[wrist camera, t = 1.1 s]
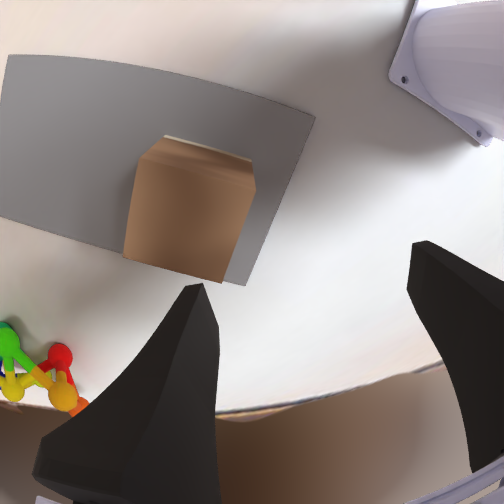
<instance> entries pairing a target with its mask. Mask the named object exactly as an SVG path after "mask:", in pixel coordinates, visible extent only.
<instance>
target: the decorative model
mask: <svg viewBox="0 0 504 504" xmlns="http://www.w3.org/2000/svg"><path fill="white" fill-rule="evenodd" d="M13 358H14V359H15V360H16V361H17V362H18V363H19V364H20V365H21V366H22V367H23V368H24V369H25V370H26V371H27V373H17V374H15V370H14V361H13ZM2 360H3V366H4V371H5V374H3V372H2V371H1V367H2ZM72 360H73V358H72V353H71V351H70V350H69V348H68V347H66V346H65V345H63V344H55V345H53V346H52V347H51V348H50V349H49V352H48V359H47V360H45V361H44V362H42V363H41V364H39V365H36V364H35V363H34V362H33V361H32V360H31V359H30V358H29V357H28V356H27V355H26V354H25V353H24V352H23V351H22V350H21V348H20V341H19V338H18V336H17V334H16V333H15V332H14V331H13V330H12V328H11V327H10V326H9V325H8V324H7V323H4V322H0V390H2V393H3V395H4V396H5V397H6V398H7V399H8V400H10V401H12V402H18V401H20V400H21V399H22V398H23V396H24V393H25V389H26V388H28V387H30V386H32V385H35V384H36V385H37V386H39V387H43V388H44V387H45V388H46V389H47V390H48V397H49V400H50V402H51V404H52V405H53V406H54V407H55V408H56V409H58V410H61V411H69V413H70V415H71V416H72V417H74V416H75V415H76V414H78V413H79V412H80V411H81V410H83V409H84V408H85V407H86V406H88V405H89V404H90V403H89V402H88V401H87V400H86V399H84V398H82V397H79V394H78V392H77V389H76V387H75V384H74V381H73V378H72V376H71V373H70V370H69V367H70V365H71V363H72ZM53 368H55V369H56V382H54V381H53V380H52V374H51V372H50V370H51V369H53Z"/></svg>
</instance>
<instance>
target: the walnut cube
mask: <svg viewBox="0 0 504 504" xmlns="http://www.w3.org/2000/svg"><path fill="white" fill-rule="evenodd" d="M255 193H256V186H255V179H254V173H253V167H252V160H251V159H249V158H246V157H243V156H239V155H236V154H233V153H230V152H226V151H223V150H219V149H216V148H212V147H209V146H205V145H202V144H198V143H195V142H191V141H187V140H183V139H180V138H176V137H172V136H168V135H165V136H164V137H162V138H161V139H160V140H159V141H158V142H157V143H155V144H154V145H153V146H152V147H151V148H150V149H149V150H148V151H146V152H145V153H144V154H143V155H142V156H141V157H140V158H139V162H138V167H137V171H136V176H135V182H134V187H133V192H132V198H131V204H130V210H129V216H128V222H127V229H126V236H125V243H124V251H123V257H124V258H127V259H131V260H134V261H138V262H142V263H145V264H149V265H153V266H156V267H160V268H164V269H167V270H171V271H175V272H178V273H182V274H186V275H190V276H194V277H198V278H201V279H205V280H209V281H213V282H217V283H221V284H222V282H223V279H224V276H225V273H226V271H227V268H228V265H229V262H230V260H231V257H232V254H233V252H234V249H235V246H236V243H237V241H238V238H239V235H240V233H241V230H242V227H243V225H244V222H245V219H246V216H247V214H248V211H249V208H250V206H251V203H252V200H253V198H254V195H255Z"/></svg>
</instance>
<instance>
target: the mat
mask: <svg viewBox="0 0 504 504" xmlns="http://www.w3.org/2000/svg"><path fill="white" fill-rule="evenodd" d="M314 120H315V117H313V116H311V115H308V114H306V113H303V112H301V111H298V110H295V109H293V108H290V107H287V106H285V105H282V104H279V103H276V102H273V101H271V100H268V99H265V98H262V97H259V96H256V95H253V94H250V93H246V92H243V91H240V90H237V89H233V88H230V87H227V86H223V85H220V84H216V83H212V82H209V81H205V80H201V79H197V78H193V77H189V76H185V75H181V74H176V73H172V72H167V71H163V70H158V69H153V68H147V67H142V66H137V65H131V64H125V63H118V62H111V61H104V60H96V59H87V58H77V57H65V56H50V55H8V60H7V64H6V69H5V75H4V80H3V86H2V93H1V100H0V216H1V217H4V218H7V219H10V220H13V221H16V222H19V223H22V224H25V225H28V226H32V227H35V228H38V229H41V230H44V231H48V232H51V233H54V234H57V235H61V236H64V237H67V238H70V239H74V240H77V241H80V242H84V243H87V244H91V245H94V246H97V247H101V248H104V249H108V250H111V251H115V252H118V253H122V254H123V251H124V243H125V236H126V229H127V222H128V216H129V210H130V204H131V198H132V192H133V187H134V182H135V176H136V171H137V167H138V162H139V158H140V157H141V156H142V155H143V154H144V153H145V152H146V151H148V150H149V149H150V148H151V147H152V146H153V145H154V144H155V143H157V142H158V141H159V140H160V139H161V138H162V137H164V136H165V135H168V136H172V137H176V138H180V139H183V140H187V141H191V142H195V143H198V144H202V145H205V146H209V147H212V148H216V149H219V150H223V151H226V152H230V153H233V154H236V155H239V156H243V157H246V158H249V159H251V160H252V167H253V173H254V179H255V186H256V193H255V195H254V198H253V200H252V203H251V206H250V208H249V211H248V214H247V216H246V219H245V222H244V225H243V227H242V230H241V233H240V235H239V238H238V241H237V243H236V246H235V249H234V252H233V254H232V257H231V260H230V262H229V265H228V268H227V271H226V273H225V276H224V279H223V281H226V282H230V283H234V284H238V285H242V286H246V283H247V281H248V279H249V276H250V274H251V272H252V269H253V267H254V264H255V262H256V260H257V257H258V255H259V253H260V250H261V248H262V245H263V243H264V241H265V238H266V236H267V233H268V231H269V229H270V226H271V224H272V221H273V219H274V217H275V214H276V212H277V209H278V207H279V205H280V202H281V200H282V197H283V195H284V193H285V190H286V188H287V185H288V183H289V181H290V178H291V176H292V173H293V171H294V169H295V166H296V164H297V161H298V159H299V156H300V154H301V152H302V149H303V147H304V144H305V142H306V139H307V137H308V135H309V132H310V130H311V127H312V125H313V122H314Z"/></svg>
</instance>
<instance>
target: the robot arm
mask: <svg viewBox="0 0 504 504" xmlns="http://www.w3.org/2000/svg"><path fill="white" fill-rule="evenodd" d="M388 75H389V79H390V81H392V82H393V83H394V84H396V85H398V86H399V87H401V88H403V89H404V90H406V91H408V92H409V93H411V94H412V95H414V96H416V97H417V98H419V99H420V100H422V101H423V102H425V103H426V104H428V105H429V106H431V107H432V108H434V109H435V110H437V111H438V112H439V113H441V114H442V115H444V116H445V117H447V118H448V119H449V120H451V121H452V122H453V123H455V124H456V125H457V126H459V127H460V128H461V129H463V130H464V131H465V132H466V133H468V134H469V135H470V136H471V137H473V138H474V139H475V140H476V141H478V142H479V143H480V144H481V145H483V146H485V147H487V146H489V145H490V143H491V140H492V138H493V137H495V138H498V139H500V140H502V141H504V0H492V1H481V2H473V3H465V4H457V3H456V2H455V1H454V0H416V1H415V4H414V7H413V9H412V12H411V15H410V18H409V20H408V23H407V26H406V29H405V31H404V34H403V37H402V39H401V42H400V45H399V47H398V50H397V52H396V55H395V57H394V60H393V63H392V65H391V68H390V70H389V74H388ZM403 76H404V77H405V79H406V82H405V83H404V84H403V83H402V80H401V79H402V77H403ZM477 131H478V134H477ZM407 291H408V294H409V296H410V299H411V301H412V303H413V306H414V308H415V310H416V313H417V314H418V316H419V318H420V320H421V321H422V323H423V325H424V327H425V328H426V330H427V332H428V334H429V335H430V337H431V339H432V341H433V343H434V344H435V346H436V348H437V350H438V352H439V353H440V355H441V357H442V359H443V361H444V363H445V365H446V368H447V370H448V373H449V375H450V378H451V381H452V383H453V386H454V389H455V392H456V396H457V399H458V402H459V406H460V409H461V413H462V418H463V422H464V427H465V431H466V437H467V444H468V451H469V461H470V467H471V470H472V473H473V474H471V475H469V476H467V477H465V478H463V479H461V480H459V481H457V482H455V483H452V484H450V485H448V486H446V487H444V488H441V489H439V490H437V491H434V492H432V493H430V494H427V495H425V496H422V497H419V498H417V499H414V500H412V501H409V502H406V503H403V504H456V503H458V502H460V501H462V500H464V499H466V498H468V497H470V496H472V495H474V494H475V493H477V492H479V491H481V490H483V489H485V488H486V487H488V486H490V485H491V484H493V483H495V482H497V481H498V480H500V479H501V478H502V479H501V481H500V484H499V487H498V488H497V489H496V490H494V491H493V492H491V493H489V494H487V495H486V496H484V497H482V498H480V499H478V500H476V501H475V502H473V503H471V504H504V281H502V280H500V279H498V278H496V277H494V276H492V275H490V274H488V273H486V272H485V271H483V270H481V269H479V268H477V267H476V266H474V265H472V264H470V263H469V262H467V261H465V260H463V259H462V258H460V257H458V256H456V255H455V254H453V253H451V252H449V251H447V250H446V249H444V248H442V247H440V246H438V245H436V244H434V243H432V242H430V241H427V240H426V241H421V242H416V243H412V251H411V260H410V269H409V276H408V283H407ZM219 356H220V344H219V326H218V323H217V321H216V318H215V315H214V312H213V310H212V307H211V304H210V302H209V299H208V296H207V293H206V291H205V288H204V285H203V283H200V284H194V285H188V286H185V287H184V289H183V290H182V292H181V293H180V295H179V296H178V298H177V299H176V301H175V302H174V304H173V305H172V307H171V308H170V310H169V311H168V313H167V314H166V316H165V317H164V319H163V320H162V322H161V323H160V325H159V326H158V328H157V329H156V331H155V332H154V333H153V335H152V336H151V337H150V339H149V340H148V341H147V343H146V344H145V346H144V347H143V348H142V350H141V351H140V352H139V353H138V355H137V356H136V357H135V358H134V360H133V361H132V362H131V363H130V364H129V365H128V366H127V368H126V369H125V370H124V371H123V372H122V373H121V374H120V375H119V376H118V377H117V379H116V380H115V381H113V382H112V383H111V384H110V385H109V386H108V387H107V388H106V389H105V390H104V391H103V392H102V393H101V394H100V395H99V396H98V397H97V398H96V399H95V400H93V401H92V402H91V403H90V404H89V405H88V406H86V407H85V408H84V409H83V410H81V411H80V412H79V413H78V414H76V415H75V416H74V417H72V418H71V419H70V420H68V421H67V422H66V423H64V424H63V425H61V426H60V427H58V428H57V429H55V430H54V431H52V432H51V433H49V434H47V435H46V436H44V437H42V439H41V443H40V446H39V450H38V453H37V457H36V460H35V464H34V468H33V472H32V475H33V477H34V478H35V480H36V481H38V482H39V483H41V484H42V485H44V486H46V487H47V488H49V489H51V490H53V491H55V492H57V493H59V494H61V495H63V496H65V497H67V498H69V499H71V500H73V504H222V501H221V494H220V486H219V476H218V467H217V453H216V436H215V404H216V392H217V381H218V369H219ZM35 504H60V503H58V502H55V501H52V500H49V499H46V498H43V497H41V496H37V498H36V503H35Z"/></svg>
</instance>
